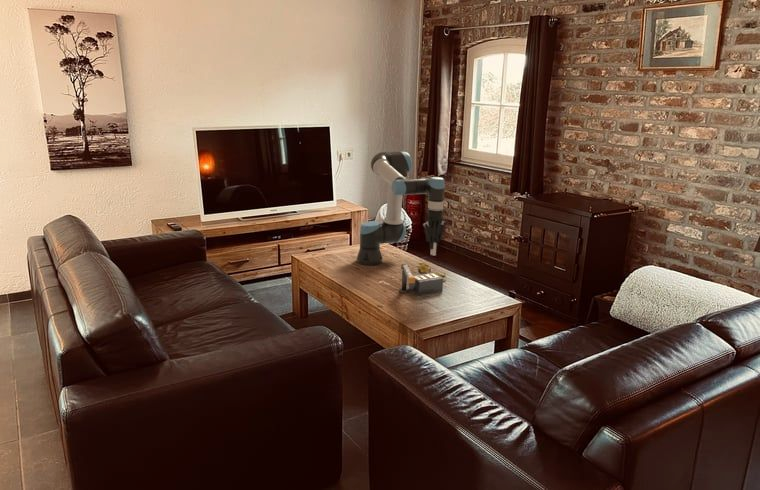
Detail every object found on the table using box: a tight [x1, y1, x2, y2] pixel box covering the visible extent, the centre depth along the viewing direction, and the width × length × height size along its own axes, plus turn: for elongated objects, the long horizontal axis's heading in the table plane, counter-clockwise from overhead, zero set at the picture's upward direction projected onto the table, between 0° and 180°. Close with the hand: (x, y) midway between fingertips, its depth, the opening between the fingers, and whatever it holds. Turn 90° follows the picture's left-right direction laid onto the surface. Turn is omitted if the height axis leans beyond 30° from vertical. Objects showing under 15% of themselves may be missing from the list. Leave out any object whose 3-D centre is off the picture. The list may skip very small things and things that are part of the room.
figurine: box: [417, 262, 447, 282], centre depth 316 cm, size 12×9×15 cm
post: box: [398, 269, 410, 294], centre depth 293 cm, size 5×5×11 cm
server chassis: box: [408, 272, 444, 296], centre depth 296 cm, size 10×14×8 cm
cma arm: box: [400, 263, 415, 284], centre depth 282 cm, size 4×23×2 cm, turn 7°
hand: (433, 254), depth 294 cm, fingers closed
